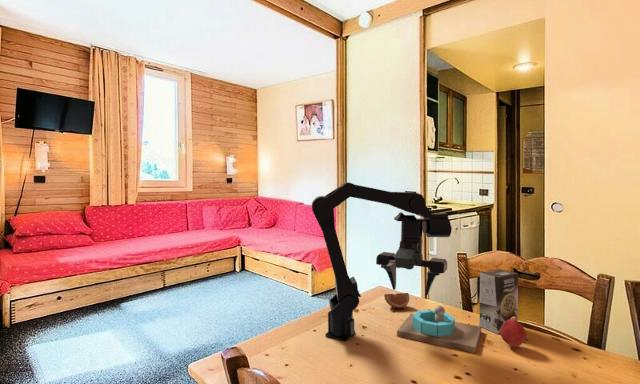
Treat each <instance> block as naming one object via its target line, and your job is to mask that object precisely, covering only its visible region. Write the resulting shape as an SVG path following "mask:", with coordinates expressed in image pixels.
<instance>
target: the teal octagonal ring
mask: <svg viewBox="0 0 640 384" xmlns="http://www.w3.org/2000/svg"><path fill="white" fill-rule="evenodd" d="M413 314H414V315H413V327H414V328H415V329H416V330H418V331H419V332H420V333H422V334H427V335H432V336H438V337H439V336H446V335H451V334H453V332H454V329H455V322H456V319H455V317H454V316H452V315H450V314H449V313H447V312H445V314H444V322H440V323H435V311H434V309H425V310H424V309H423V310H417V311H416V312H414V313H413Z"/></svg>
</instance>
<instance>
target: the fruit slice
mask: <svg viewBox="0 0 640 384" xmlns="http://www.w3.org/2000/svg"><path fill="white" fill-rule="evenodd" d="M383 297H384V300H385V302H386V303H387V304H388V305H389V306H390V307H392V308H393V309H398V310H399V309H400V310H401V309H405V307H407V306H408V304H409V302H410V295H409V292H403V293H402V292H398V293H395V294H394V293H384V295H383Z"/></svg>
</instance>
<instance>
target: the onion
mask: <svg viewBox="0 0 640 384" xmlns="http://www.w3.org/2000/svg"><path fill="white" fill-rule="evenodd" d="M499 334H500V337H501V339H502V340H503V341H504V342H505V343H506V344H507V345H508V346H510V347H511V348H512V349H514V348H515V349H516V348H517V347H519V346H521V345H523V344H524V343H525V341H527V340H526V339H527V332H526V329H525V328H524V326H523V325H522V324H521V323H520V322H519V321H516V317H512V318H511V319H509V320H507V321H506V322H504V323H503V324H502V326H501V329H500V333H499Z"/></svg>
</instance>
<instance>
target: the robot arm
mask: <svg viewBox="0 0 640 384" xmlns="http://www.w3.org/2000/svg"><path fill="white" fill-rule="evenodd" d="M349 198H354V199H359V200H365V201H371V202H375V203H380V204H383V205H384V204H385V205H389V206H390V207H391V206H392V207H393V208H396V209H398V210H401V211H404V212H407V213H410V214H404V213H403V212H399V213H398V214H397V215H396V216H394V218H393V220H394V221H396V222H401V227H400V228H401V229H400V231H401V232H400V241H399V247H398V249H397V251H396V252H388V251H387V252H386V251H382V252H380V253H378V255H377V256H376V259H375V263H376V265H378V266H380V268H381V269H384V270H385V271H386V273H387V276H388V278H389V281H390V284H391V285H390V286H391V287H392V290H393V291H395V290H396V289H397V269H405V270H410V271H411V270H413V269H414V268H415V267H422V268H427V269H428V271H427V272H426V276H427V278H426V286H425V296H429V293H430V291H431V288H432V285H433V283H434V281H435V279H436V277H437V276H440V275H441V274H445V273H446V271H447V270H448V261H447V259H446V258H441V257H440V258H438V257H432V258H431V259H430V260H426V259H424V258H423V234H424V235H425V236H426V237H427V238H449V237H451V234H452V229H453V228H452V227H453V226H452V225H451V220H450V218H449V213H446V212H440V213H432V212H431V210H430V209H429V208H428V206H427V205H426V199H425V197H424V196H423V194H422V193H421V194H420V193H418V192H413V191H411V192H410V191H409V192H408V191H390V190H389V191H388V190H384V189H377V188H373V187H370V186H369V187H368V186H364V185H360V184H355V183H352V182H349V181H348V182H343V183H341V184H340V186H338V187H337V188H335V189H333V190H332V191H330V192H329V193H327V194H326V195H318V196H316V197H315V198H314V199H313V200H312V202H311V210H312V213H313V215H314V217H315V218H316V219H315V220H316V221H317V223H318V225H319V228H320V229H321V231H322V235H323V238H324V241H325V245H326V249H327V253H328V256H329V261H330V263H331V267H332V272H333V274H334V285H335V294H334V295H333V296H332V297H331V298H330V299H329V300H328V302H329V308H330V310H329V311H328V313H327V329H328V330H327V332H326V333H325V337H328V338H331V339H335V340H339V341H344V342H347V341H348V340H349V339H350V338H352V336H353V335H354V334H355V333H356V330H355V319H354V318H353V317H354V313H353V312H354V310H356V309H357V308H358V306H359V304H360V298H361V297H362V295H361V293H360V291H359V288H358V283H357V280H356V278H355V276H352V277H350V275H349V273H348V271H347V267H346V263H345V259H344V256H343V252H342V248H341V245H340V241H339V237H338V234H337V231H336V225H335V222H336V221H335V211H334V210H335V208H337V207H338V206H339V205H341V204H342V203H344V202H345V201H346V200H348V199H349ZM416 216H419V217H421V218H417V217H416Z"/></svg>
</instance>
